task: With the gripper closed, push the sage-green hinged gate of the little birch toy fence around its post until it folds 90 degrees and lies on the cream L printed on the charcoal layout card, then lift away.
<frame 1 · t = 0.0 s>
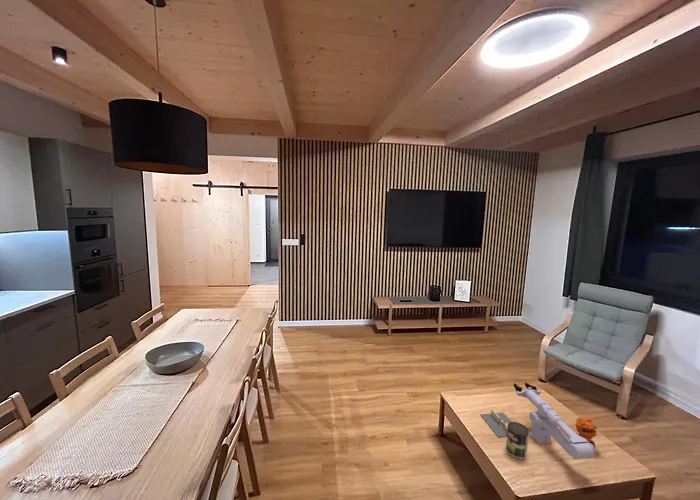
hand: (519, 384, 195), 22 cm above the table, tool horizontal, fingers open, 7 cm apart
layout card: (500, 424, 190), on the table
fixed fence: (500, 425, 188), resting on layout card
coffee can: (516, 451, 168), on the table
toy dinosaur: (584, 447, 172), on the table
fence gate: (495, 416, 194), point 3 cm above the table, hinge at 0.0°
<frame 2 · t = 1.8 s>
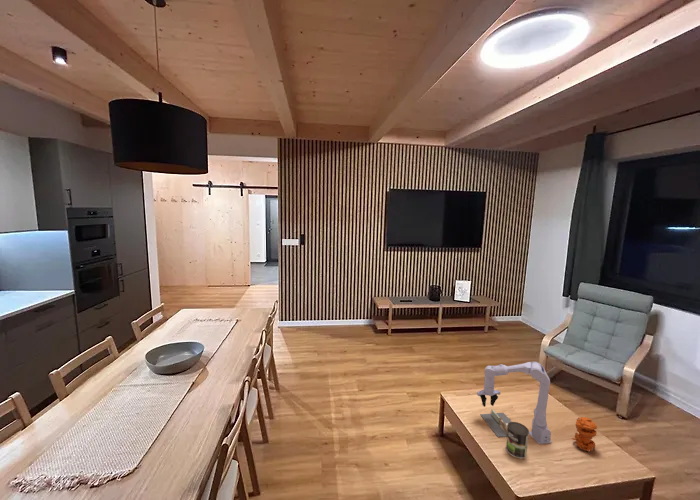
hand: (487, 405, 192), 10 cm above the table, tool pointing down, fingers open, 5 cm apart
nothing on the table moved.
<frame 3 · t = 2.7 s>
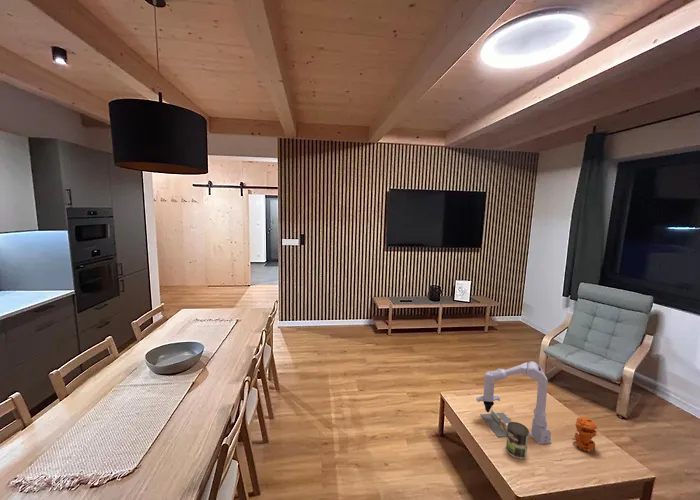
hand: (487, 411, 193), 6 cm above the table, tool pointing down, fingers closed
nothing on the table moved.
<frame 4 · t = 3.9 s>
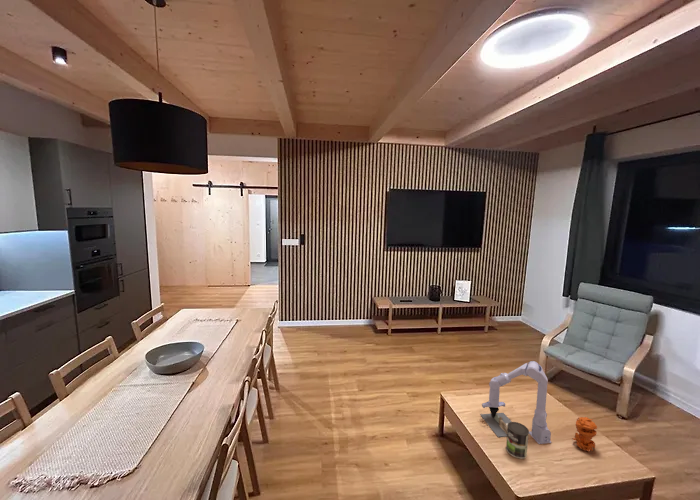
hand: (492, 417, 194), 2 cm above the table, tool pointing down, fingers closed
fence gate: (495, 416, 194), point 3 cm above the table, hinge at -0.3°, touching gripper
everything else where it was.
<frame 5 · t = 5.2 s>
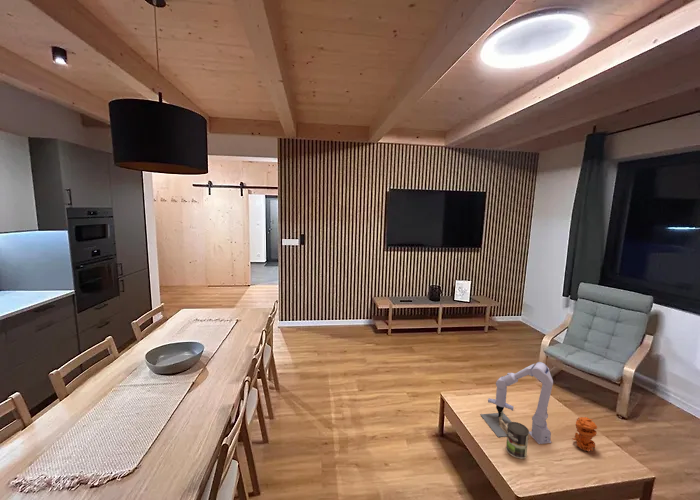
hand: (499, 416, 194), 2 cm above the table, tool pointing down, fingers closed
fence gate: (501, 416, 193), point 3 cm above the table, hinge at -39.2°, touching gripper
everything else where it was.
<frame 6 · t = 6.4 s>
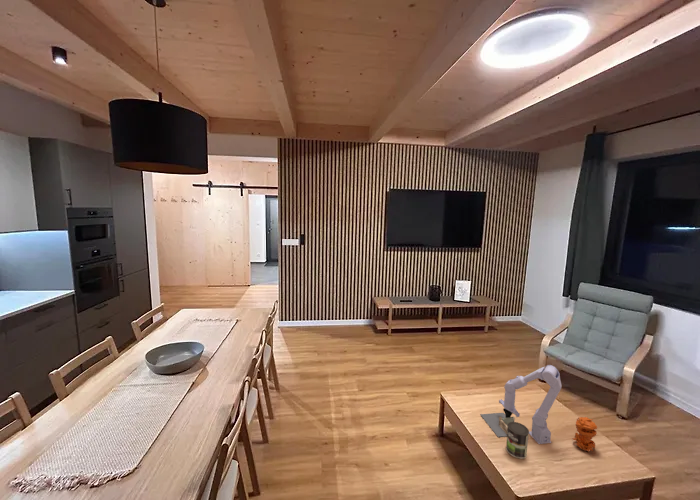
hand: (507, 420, 191), 2 cm above the table, tool pointing down, fingers closed, pressing on fence gate
fence gate: (508, 420, 189), point 3 cm above the table, hinge at -84.0°, touching gripper
everything else where it was.
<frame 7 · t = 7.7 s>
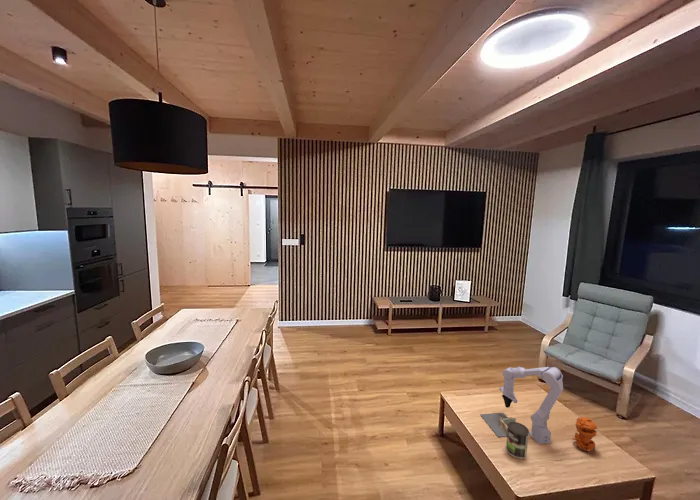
hand: (507, 406, 194), 8 cm above the table, tool pointing down, fingers closed
fence gate: (508, 421, 189), point 3 cm above the table, hinge at -91.0°
everything else where it was.
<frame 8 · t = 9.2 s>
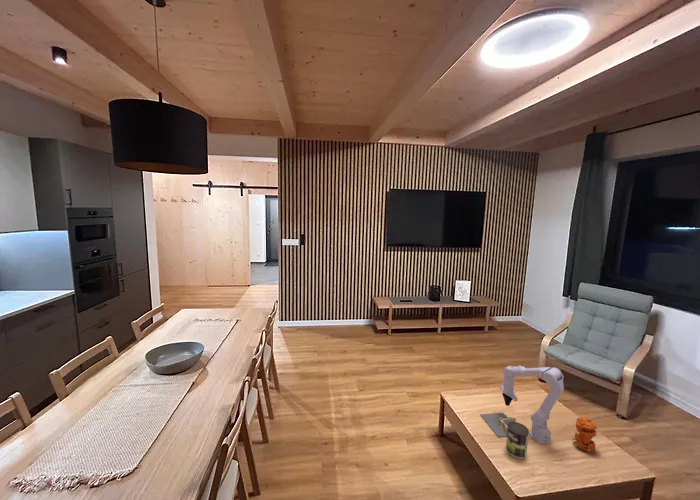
hand: (507, 405, 194), 9 cm above the table, tool pointing down, fingers closed
nothing on the table moved.
at the end: fence gate at -91° (first picture: +0°) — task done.
